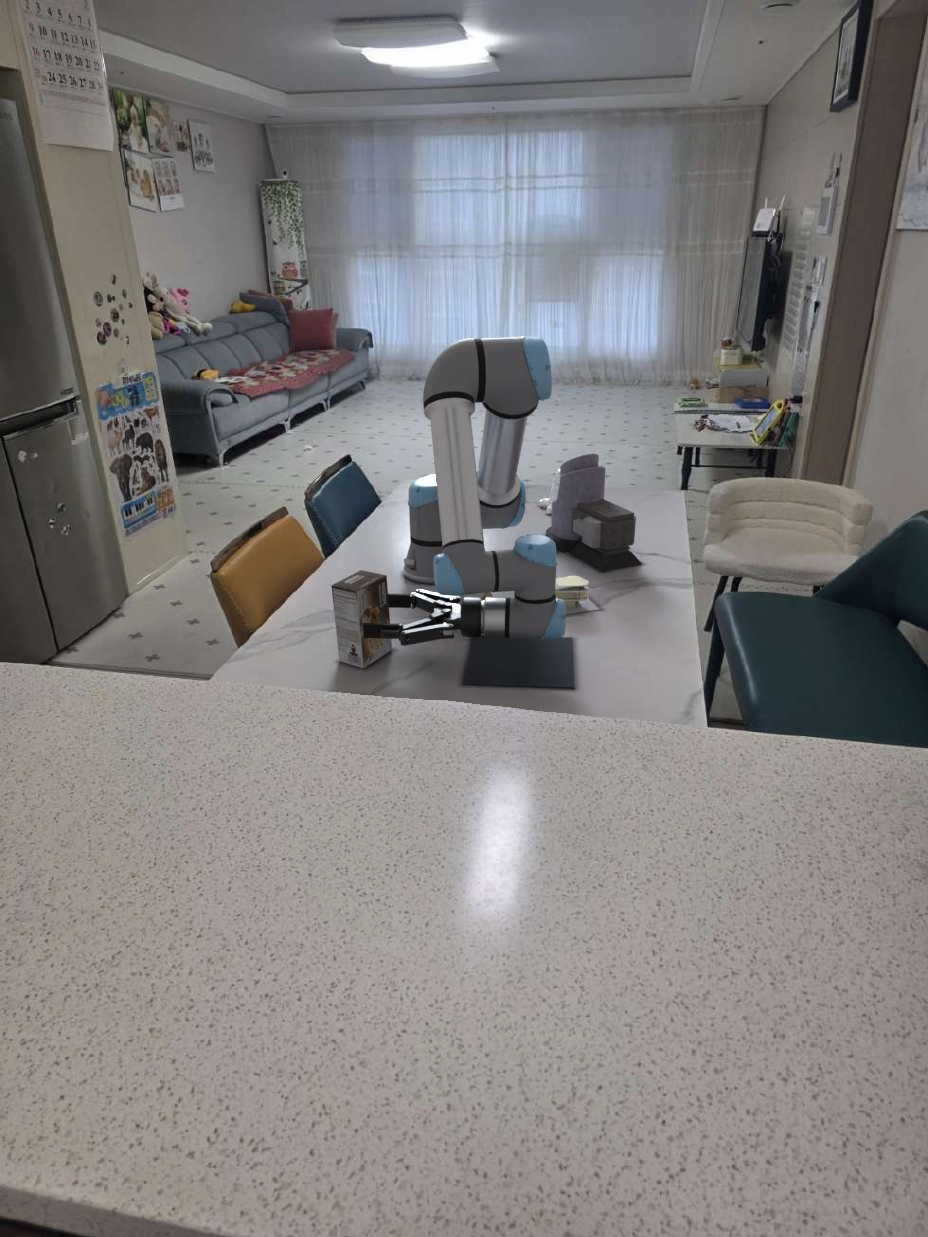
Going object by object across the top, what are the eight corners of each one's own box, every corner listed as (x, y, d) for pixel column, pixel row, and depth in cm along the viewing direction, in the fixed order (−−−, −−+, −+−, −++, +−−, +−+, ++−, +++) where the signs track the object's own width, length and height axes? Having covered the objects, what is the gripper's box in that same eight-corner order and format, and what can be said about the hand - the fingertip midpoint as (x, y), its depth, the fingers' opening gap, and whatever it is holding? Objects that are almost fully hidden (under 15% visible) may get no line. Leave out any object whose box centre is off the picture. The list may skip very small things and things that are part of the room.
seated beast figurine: (537, 505, 246) (538, 466, 241) (564, 503, 248) (566, 463, 243) (547, 515, 238) (549, 474, 233) (576, 512, 240) (577, 471, 234)
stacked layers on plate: (556, 615, 175) (557, 591, 173) (541, 599, 183) (542, 576, 181) (600, 609, 178) (601, 586, 175) (583, 593, 186) (584, 571, 183)
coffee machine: (531, 537, 221) (533, 446, 210) (582, 527, 227) (586, 439, 216) (594, 574, 196) (599, 473, 186) (649, 562, 202) (657, 464, 192)
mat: (472, 636, 167) (472, 634, 167) (571, 638, 165) (572, 637, 165) (462, 685, 149) (462, 683, 149) (573, 688, 147) (574, 687, 147)
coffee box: (367, 643, 165) (361, 568, 158) (393, 650, 162) (388, 574, 155) (337, 661, 158) (330, 584, 151) (363, 669, 155) (357, 591, 148)
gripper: (477, 666, 144) (358, 663, 146) (487, 608, 167) (384, 605, 169) (477, 628, 141) (355, 625, 143) (487, 573, 164) (381, 571, 166)
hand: (370, 614), depth 156 cm, fingers open, 13 cm apart
